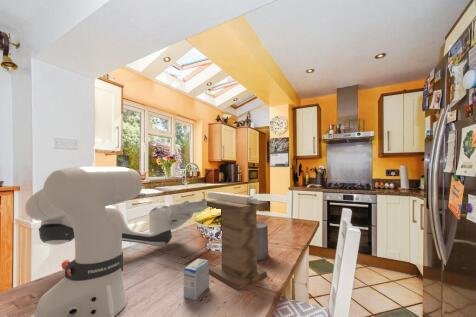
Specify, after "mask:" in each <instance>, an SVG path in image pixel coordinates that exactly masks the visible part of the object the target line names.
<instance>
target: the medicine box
mask: <svg viewBox="0 0 476 317" xmlns="http://www.w3.org/2000/svg"><path fill="white" fill-rule="evenodd" d="M209 268H210V260H207V259H203V258H197V259H195V260H193V261H192V262H191V263H190V264H188V265H187V266H185V267H184V269H183V297H184V298H186V299H188V300H191V301H192V300H193V301H197V300H198V299H199V298H200V297H201V295H202V294H203V293H204V292H205V291H206V290H207V289H208V288H209V287H210V273H209Z"/></svg>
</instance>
